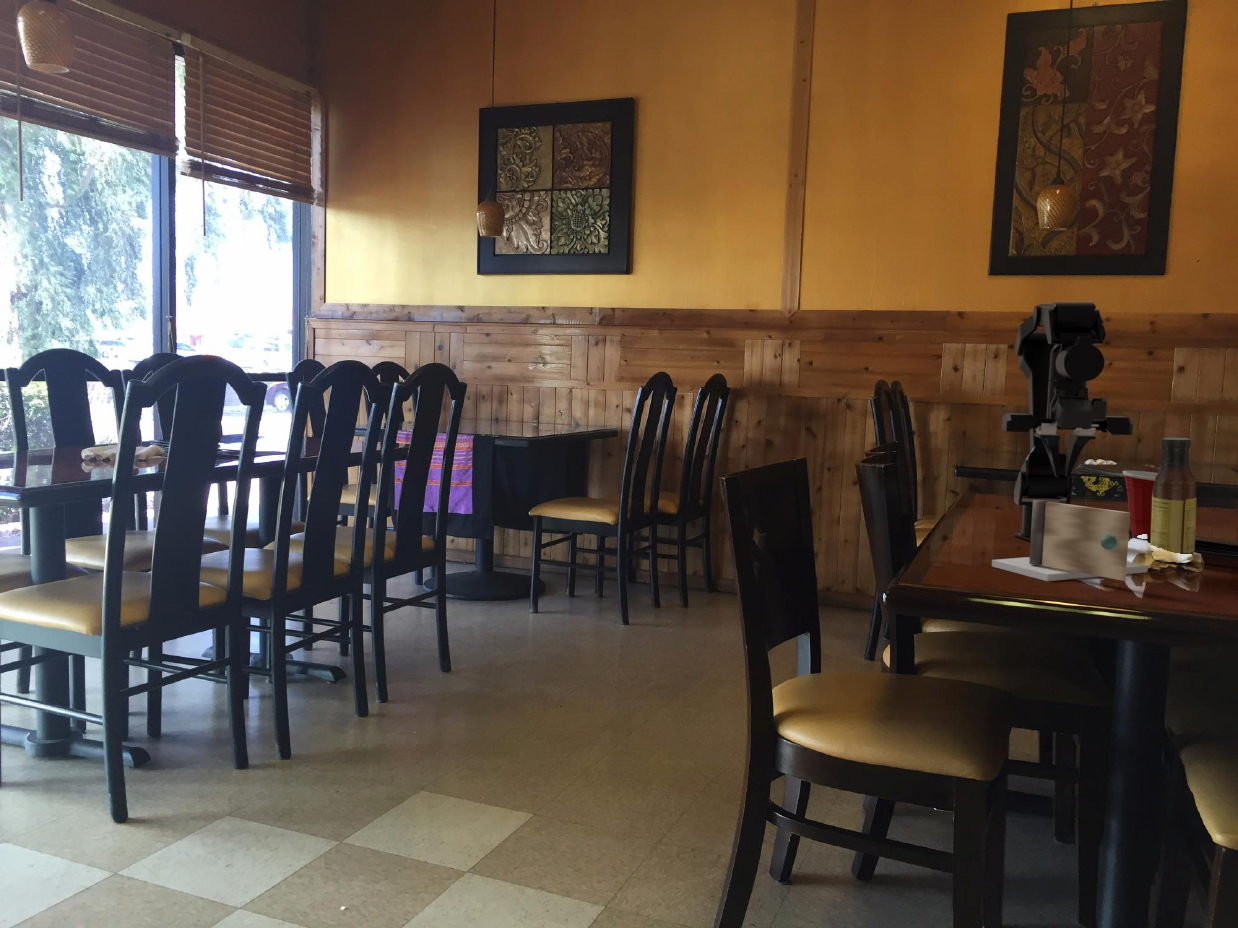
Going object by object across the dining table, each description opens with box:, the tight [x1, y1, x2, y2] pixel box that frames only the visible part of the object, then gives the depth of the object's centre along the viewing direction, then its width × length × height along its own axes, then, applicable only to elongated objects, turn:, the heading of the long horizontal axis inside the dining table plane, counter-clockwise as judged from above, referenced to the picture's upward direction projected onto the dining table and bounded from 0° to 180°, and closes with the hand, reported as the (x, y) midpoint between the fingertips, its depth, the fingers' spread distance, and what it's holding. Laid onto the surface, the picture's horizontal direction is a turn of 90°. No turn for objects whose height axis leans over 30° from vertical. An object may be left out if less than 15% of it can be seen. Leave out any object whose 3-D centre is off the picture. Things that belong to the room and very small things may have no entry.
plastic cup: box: [1122, 470, 1158, 541], centre depth 179 cm, size 11×11×12 cm
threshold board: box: [991, 556, 1149, 582], centre depth 150 cm, size 20×11×1 cm, turn 112°
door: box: [1029, 499, 1131, 581], centre depth 142 cm, size 14×4×10 cm, turn 35°
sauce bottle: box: [1150, 437, 1197, 555], centre depth 157 cm, size 7×6×20 cm
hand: (1062, 477), depth 160 cm, fingers closed
